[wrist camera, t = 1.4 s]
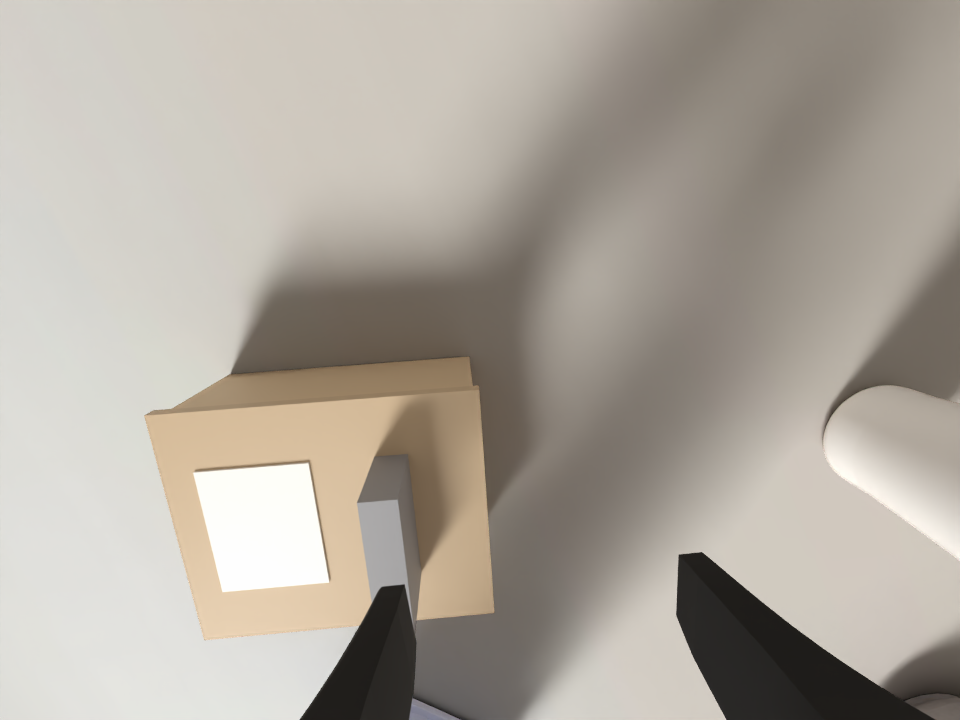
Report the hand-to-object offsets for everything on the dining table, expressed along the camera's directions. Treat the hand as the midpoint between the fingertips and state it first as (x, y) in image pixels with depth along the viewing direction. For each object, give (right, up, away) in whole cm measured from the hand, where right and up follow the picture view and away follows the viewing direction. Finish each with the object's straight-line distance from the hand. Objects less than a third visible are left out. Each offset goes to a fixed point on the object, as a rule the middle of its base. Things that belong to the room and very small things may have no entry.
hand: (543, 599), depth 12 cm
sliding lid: (-7, 0, +5) cm, 9 cm away
